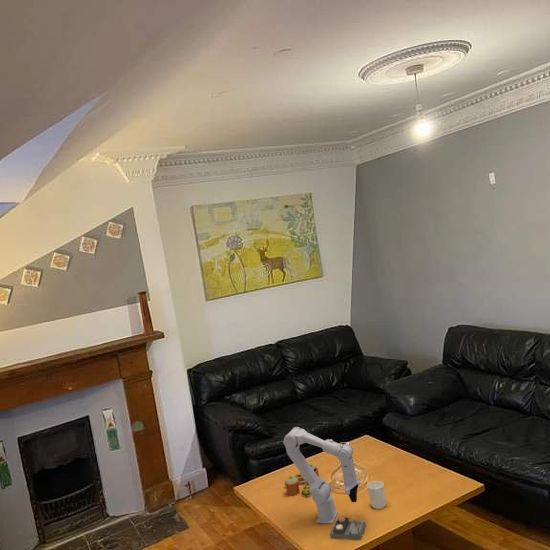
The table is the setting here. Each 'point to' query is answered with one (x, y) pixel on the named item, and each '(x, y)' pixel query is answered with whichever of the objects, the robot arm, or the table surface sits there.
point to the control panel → (347, 530)
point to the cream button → (339, 527)
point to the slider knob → (354, 528)
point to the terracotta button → (342, 519)
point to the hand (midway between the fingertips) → (354, 501)
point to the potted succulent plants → (294, 482)
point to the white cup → (376, 494)
